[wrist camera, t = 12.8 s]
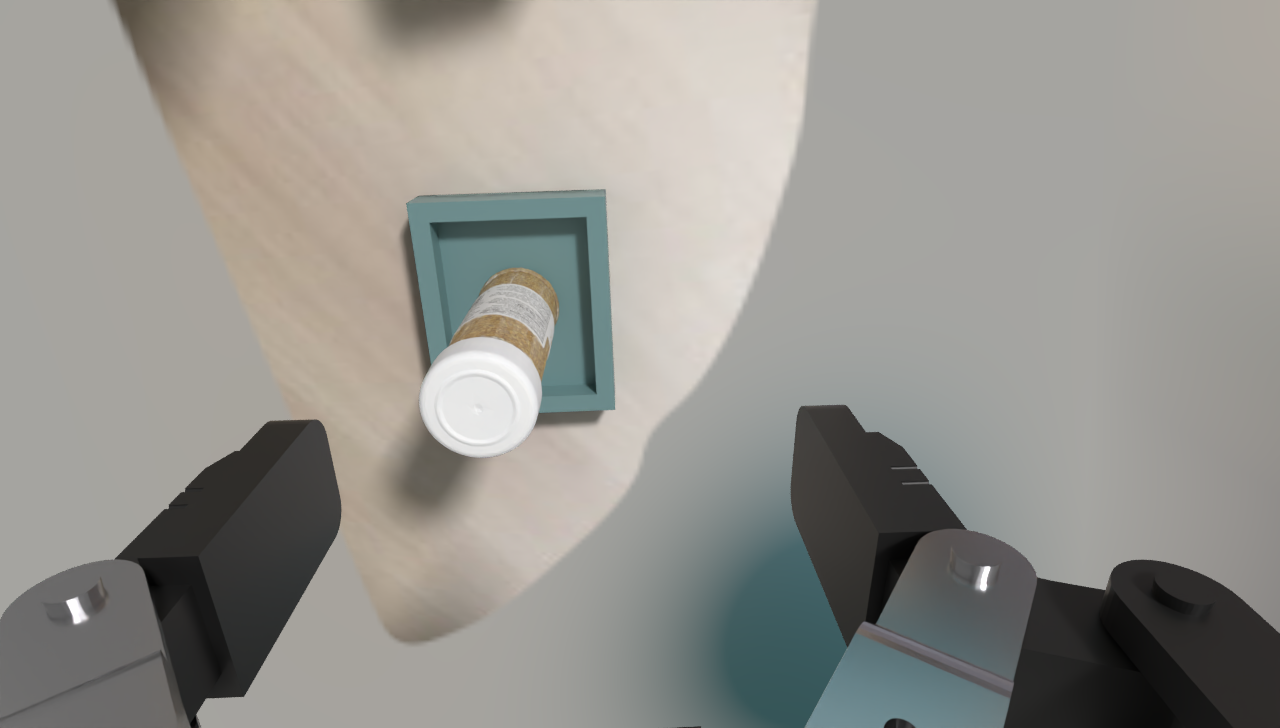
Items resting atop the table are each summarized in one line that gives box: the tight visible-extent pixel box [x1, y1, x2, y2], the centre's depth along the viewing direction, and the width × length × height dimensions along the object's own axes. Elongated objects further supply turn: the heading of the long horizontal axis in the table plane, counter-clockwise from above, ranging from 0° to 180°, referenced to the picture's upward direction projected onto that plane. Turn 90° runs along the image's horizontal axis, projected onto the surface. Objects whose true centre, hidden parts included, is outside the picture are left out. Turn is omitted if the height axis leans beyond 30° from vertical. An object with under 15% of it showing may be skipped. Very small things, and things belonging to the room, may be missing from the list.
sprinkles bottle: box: [419, 267, 559, 458], centre depth 32 cm, size 5×5×13 cm
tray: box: [406, 189, 615, 413], centre depth 38 cm, size 12×10×2 cm
